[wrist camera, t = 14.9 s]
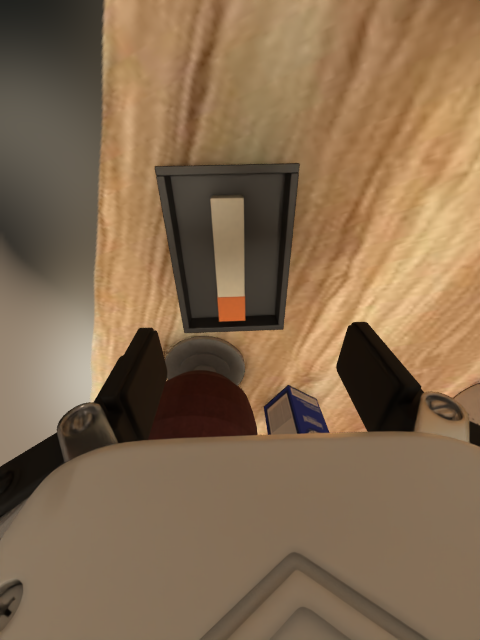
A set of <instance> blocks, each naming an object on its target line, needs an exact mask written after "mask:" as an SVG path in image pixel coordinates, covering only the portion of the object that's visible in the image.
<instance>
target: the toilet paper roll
mask: <svg viewBox="0 0 480 640" xmlns="http://www.w3.org/2000/svg"><path fill="white" fill-rule="evenodd" d="M454 400H456V401H457V402H459V403H460V404H461V405H462V406H463V407H464V408H465V410H466V411H467V413H468V416H469V421H471V422H473V423H476V424H478V425H480V384H477V385H474V386H472V387H470V388H468V389H466V390H464V391H463V392H461V393H460V394H458V395H457V396H456V397H455V398H454Z"/></svg>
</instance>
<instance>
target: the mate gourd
mask: <svg viewBox="0 0 480 640" xmlns="http://www.w3.org/2000/svg"><path fill="white" fill-rule="evenodd" d="M165 363H166V367H167V379H168V380H167V381H166V382H165V385H164V389H163V392H162V395H161V399H160V402H159V405H158V408H157V412H156V415H155V418H154V422H153V425H152V428H151V431H150V435H149V438H148V440H158V439H176V438H198V437H223V436H249V435H257V426H256V422H255V419H254V415H253V411H252V409H251V406H250V403H249V401H248V398H247V396H246V394H245V393H244V392H243V390H242V389H241V388H239V387H238V385H239V384H240V382H241V381H242V379H243V377H244V373H245V365H244V360H243V357H242V355H241V354H240V352H239V351H238V350H237V349H236V348H235V347H234V346H233V345H231V344H230V343H228V342H227V341H224V340H222V339H219V338H215V337H209V336H198V337H192V338H188V339H185V340H183V341H181V342H179V343H177V344H176V345H175V346H173V348H172V349H171V350H170V351H169V353H168V354H167V356H166V359H165Z"/></svg>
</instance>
